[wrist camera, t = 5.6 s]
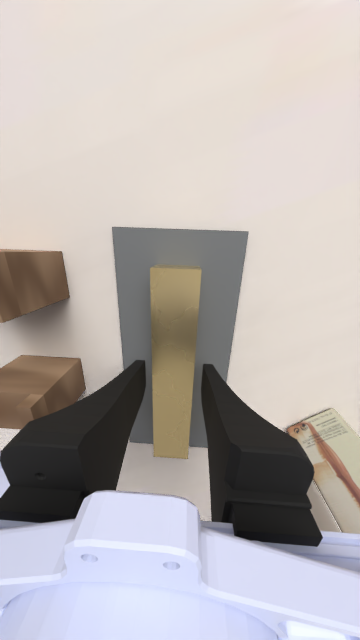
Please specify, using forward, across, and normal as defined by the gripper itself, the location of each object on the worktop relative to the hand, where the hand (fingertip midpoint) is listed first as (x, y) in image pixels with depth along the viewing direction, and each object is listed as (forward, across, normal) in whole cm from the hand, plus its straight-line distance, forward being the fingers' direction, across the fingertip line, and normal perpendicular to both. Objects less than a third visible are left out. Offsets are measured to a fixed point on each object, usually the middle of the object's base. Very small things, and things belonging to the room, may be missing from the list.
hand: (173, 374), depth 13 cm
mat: (+2, 0, 0) cm, 2 cm away
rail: (+2, 0, 0) cm, 2 cm away
